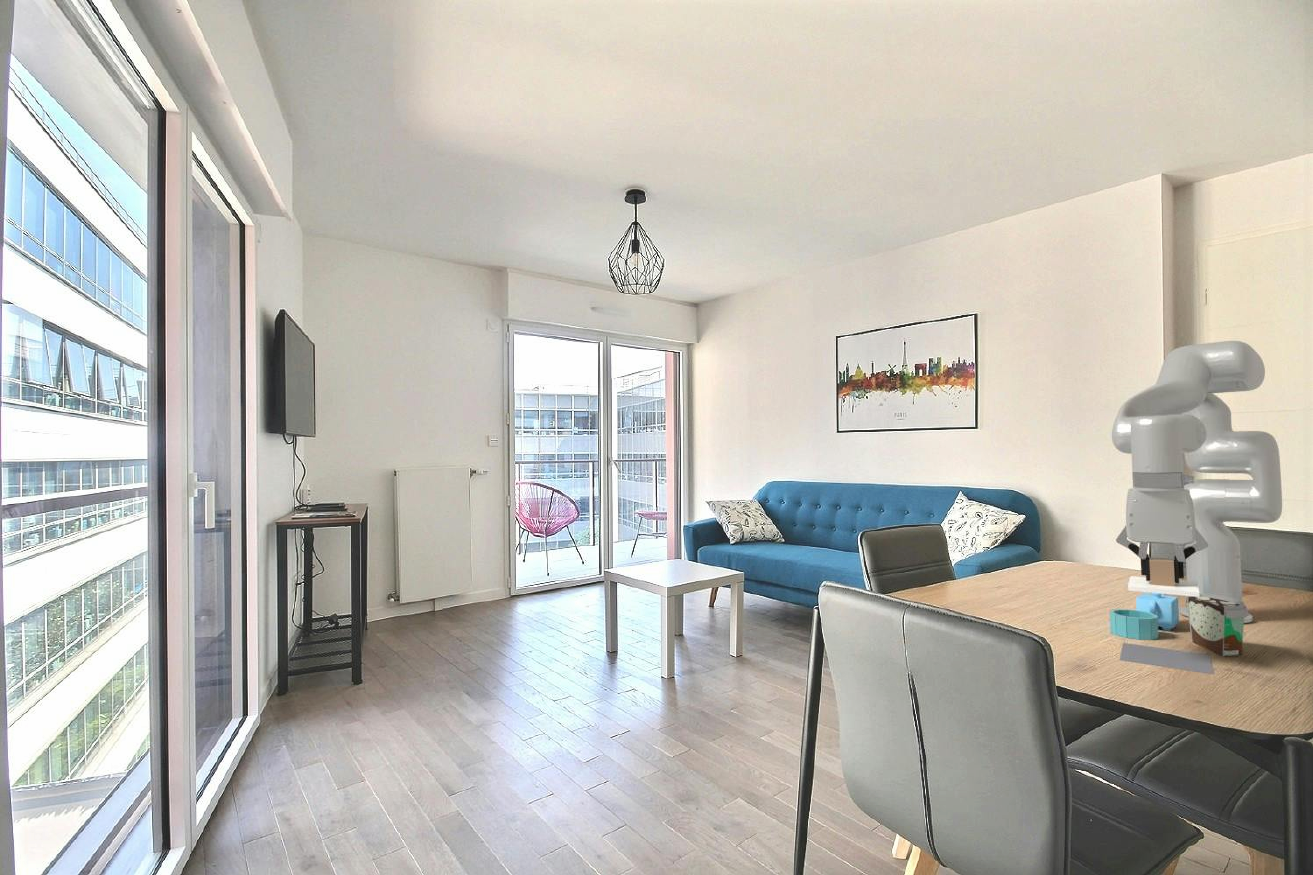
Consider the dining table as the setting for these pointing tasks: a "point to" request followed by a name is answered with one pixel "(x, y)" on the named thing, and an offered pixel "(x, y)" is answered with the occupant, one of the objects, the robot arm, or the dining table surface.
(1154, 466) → the robot arm
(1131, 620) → the bowl
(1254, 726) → the dining table surface
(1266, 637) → the dining table surface
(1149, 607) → the teapot
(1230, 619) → the food container
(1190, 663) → the mat
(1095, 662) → the dining table surface
